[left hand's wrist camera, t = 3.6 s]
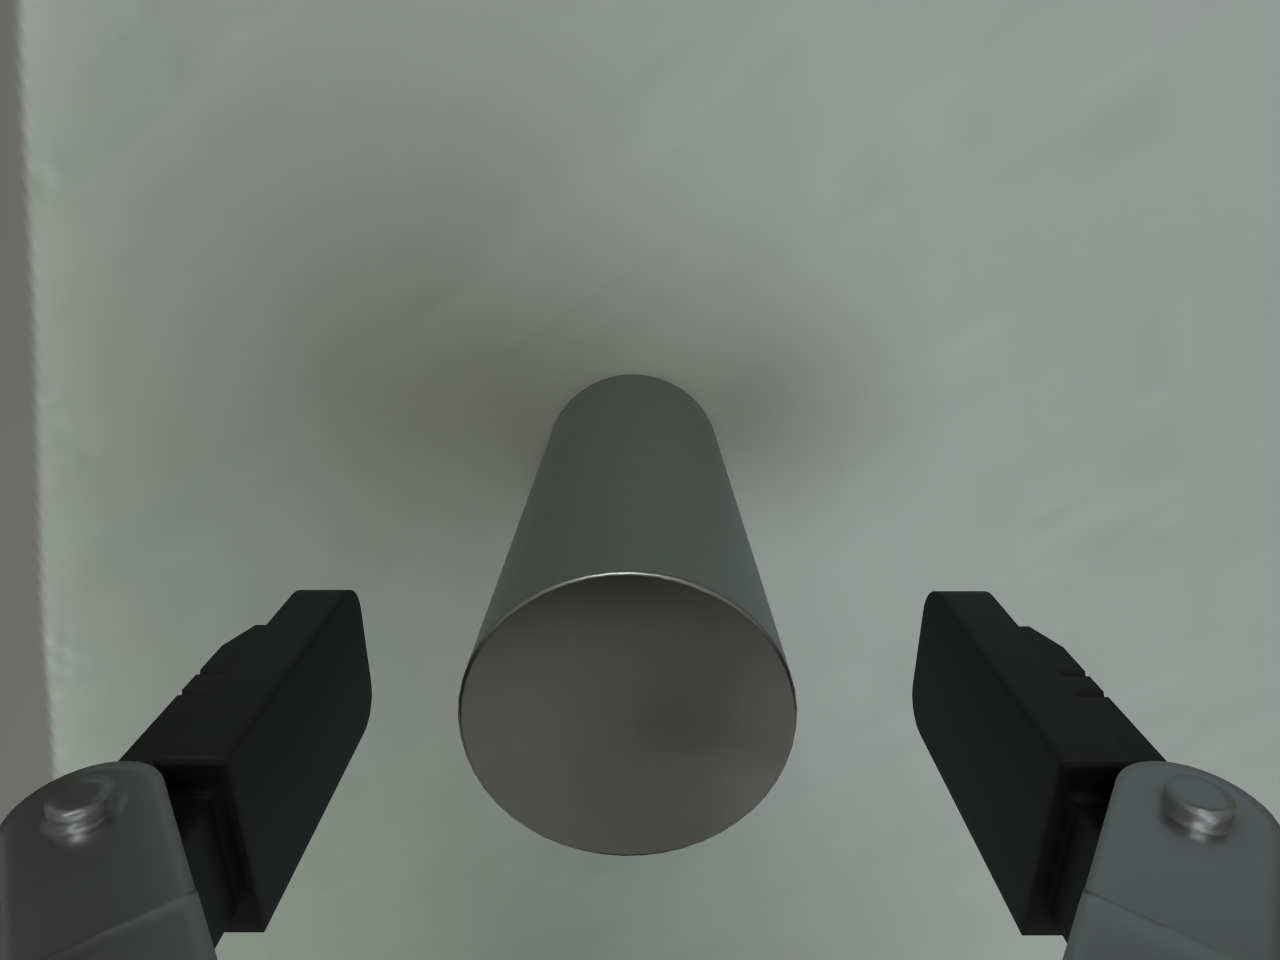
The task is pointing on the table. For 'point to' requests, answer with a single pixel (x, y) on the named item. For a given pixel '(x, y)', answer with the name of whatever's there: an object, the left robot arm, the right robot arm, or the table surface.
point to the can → (629, 638)
